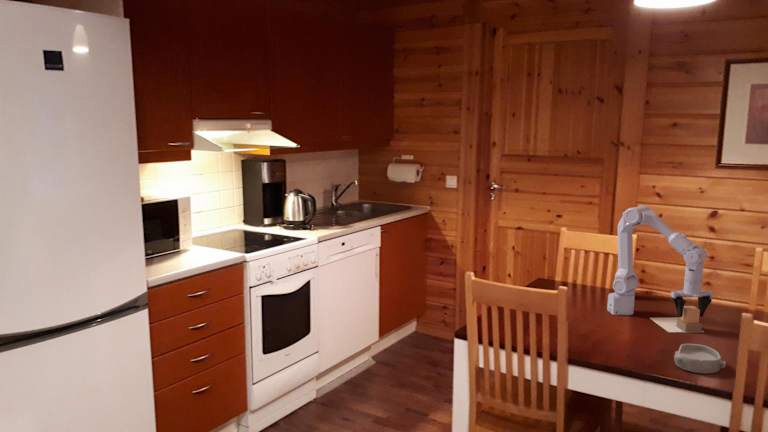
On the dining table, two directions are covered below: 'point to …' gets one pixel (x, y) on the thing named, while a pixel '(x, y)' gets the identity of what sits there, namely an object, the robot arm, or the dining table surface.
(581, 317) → the dining table surface
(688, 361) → the dish
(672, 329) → the board
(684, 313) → the terracotta block
